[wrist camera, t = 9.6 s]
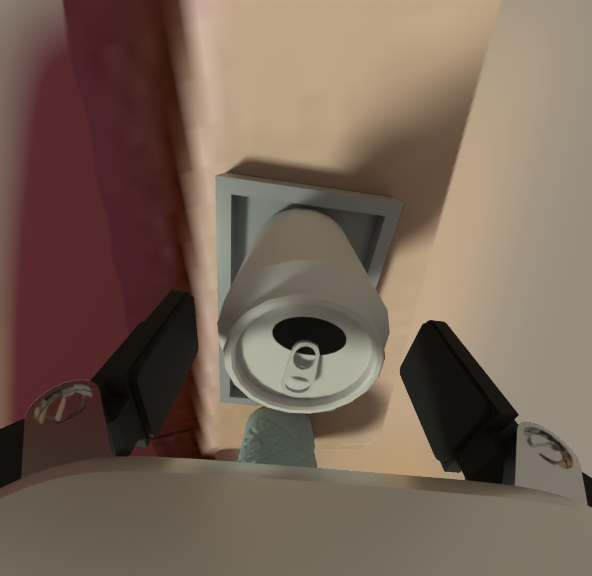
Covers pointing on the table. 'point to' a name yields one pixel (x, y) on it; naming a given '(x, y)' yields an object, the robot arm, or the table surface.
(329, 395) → the can
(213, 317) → the table surface
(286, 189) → the tray
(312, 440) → the green cup
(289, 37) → the table surface
